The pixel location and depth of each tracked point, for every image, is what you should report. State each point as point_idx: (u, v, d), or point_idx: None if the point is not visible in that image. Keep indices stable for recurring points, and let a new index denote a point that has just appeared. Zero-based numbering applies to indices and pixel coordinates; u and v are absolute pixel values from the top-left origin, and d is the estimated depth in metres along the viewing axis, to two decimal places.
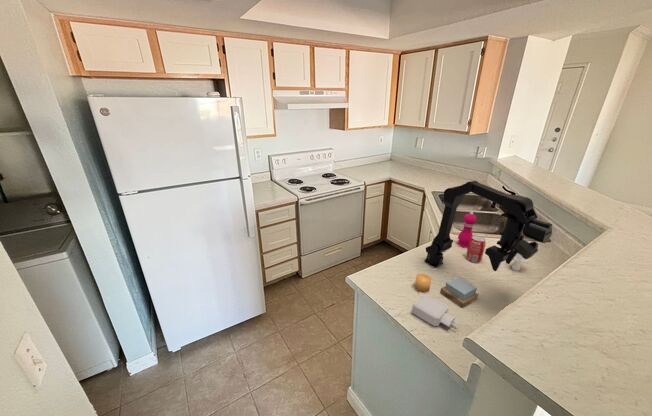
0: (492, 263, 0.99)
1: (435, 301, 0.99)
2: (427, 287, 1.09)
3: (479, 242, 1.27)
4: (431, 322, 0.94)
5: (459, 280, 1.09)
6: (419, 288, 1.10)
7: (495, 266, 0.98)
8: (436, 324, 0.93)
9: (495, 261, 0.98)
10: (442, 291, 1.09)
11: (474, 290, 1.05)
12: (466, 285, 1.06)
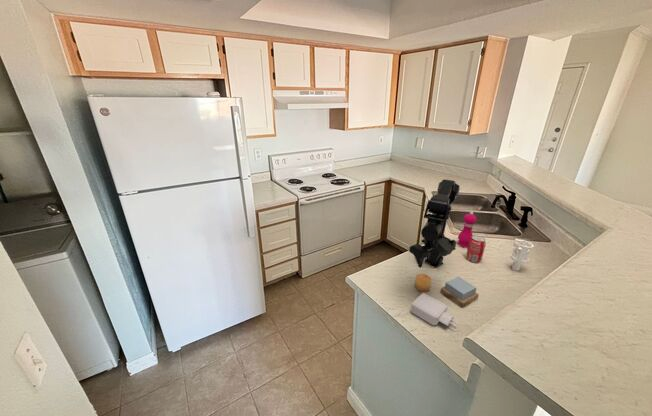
0: (417, 260, 1.05)
1: (434, 300, 0.99)
2: (427, 287, 1.09)
3: (479, 242, 1.27)
4: (430, 321, 0.94)
5: (458, 280, 1.09)
6: (419, 288, 1.10)
7: (420, 263, 1.04)
8: (435, 323, 0.93)
9: (419, 258, 1.04)
10: (442, 291, 1.09)
11: (474, 290, 1.05)
12: (466, 284, 1.06)
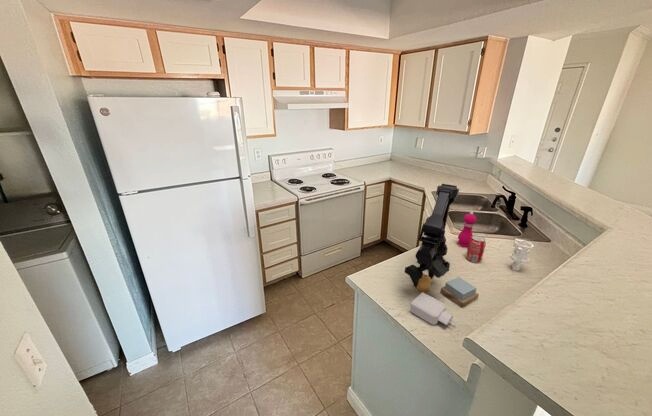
0: (412, 280, 1.09)
1: (433, 299, 1.00)
2: (427, 287, 1.09)
3: (479, 242, 1.27)
4: (429, 320, 0.94)
5: (458, 280, 1.09)
6: (419, 288, 1.10)
7: (415, 283, 1.08)
8: (434, 322, 0.94)
9: (414, 278, 1.08)
10: (442, 291, 1.09)
11: (473, 290, 1.04)
12: (466, 285, 1.06)
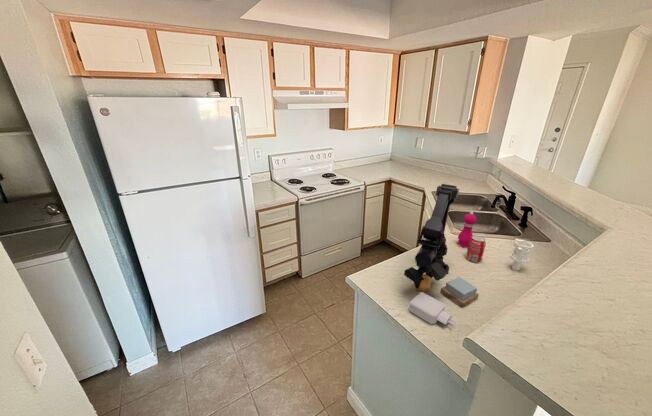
0: (414, 281, 1.10)
1: (432, 299, 1.00)
2: (428, 287, 1.09)
3: (479, 242, 1.27)
4: (428, 320, 0.94)
5: (459, 280, 1.09)
6: (419, 288, 1.10)
7: (417, 285, 1.09)
8: (433, 322, 0.94)
9: None
10: (442, 291, 1.09)
11: (474, 290, 1.04)
12: (466, 285, 1.06)
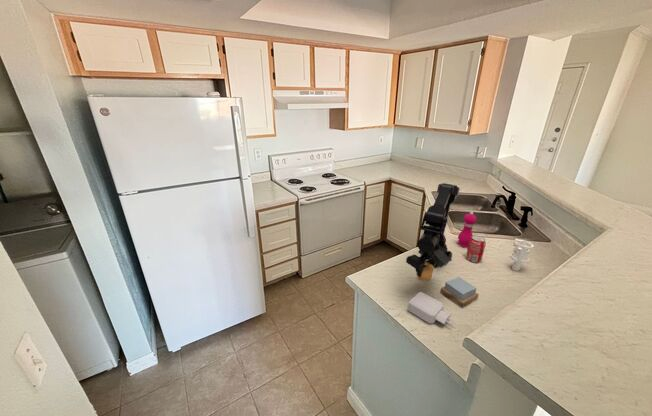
0: (416, 269, 1.07)
1: (431, 299, 1.00)
2: (430, 275, 1.07)
3: (479, 242, 1.27)
4: (426, 319, 0.95)
5: (458, 280, 1.09)
6: (421, 276, 1.08)
7: (419, 273, 1.07)
8: (431, 321, 0.94)
9: None
10: (442, 291, 1.09)
11: (473, 290, 1.04)
12: (466, 285, 1.06)
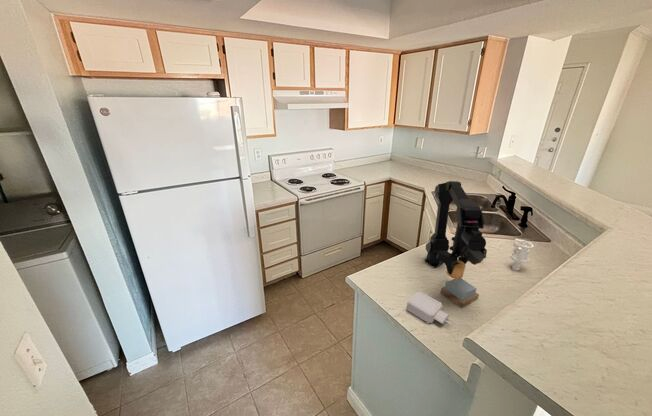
0: (447, 267, 1.03)
1: (430, 298, 1.00)
2: (461, 273, 1.02)
3: None
4: (425, 319, 0.95)
5: (458, 280, 1.09)
6: (452, 273, 1.03)
7: (450, 270, 1.02)
8: (430, 321, 0.94)
9: None
10: (442, 291, 1.09)
11: (473, 290, 1.04)
12: (466, 285, 1.06)
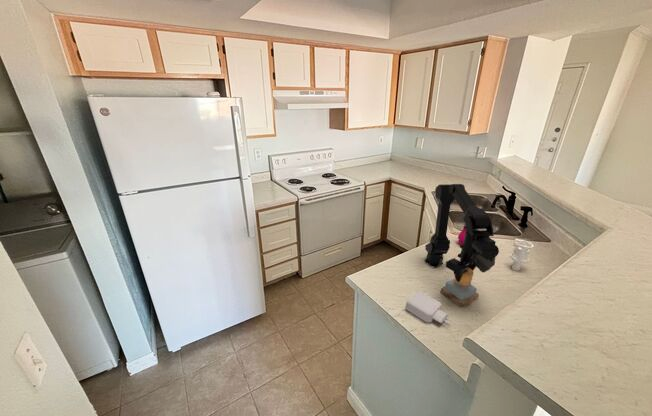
0: (455, 274, 1.03)
1: (429, 298, 1.00)
2: (470, 280, 1.02)
3: None
4: (424, 318, 0.95)
5: None
6: (460, 281, 1.03)
7: (458, 277, 1.02)
8: (429, 320, 0.94)
9: None
10: (442, 291, 1.09)
11: (474, 291, 1.04)
12: None
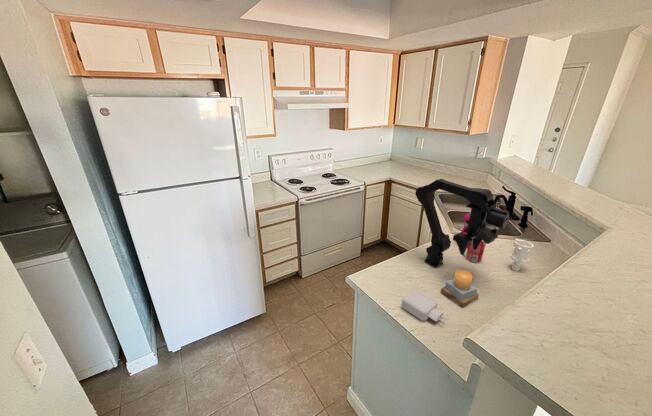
0: (459, 248, 1.12)
1: (425, 296, 1.01)
2: (470, 284, 1.03)
3: None
4: (419, 316, 0.96)
5: None
6: (461, 286, 1.03)
7: (462, 251, 1.11)
8: (424, 318, 0.95)
9: (462, 246, 1.11)
10: (442, 291, 1.09)
11: (474, 291, 1.04)
12: None
